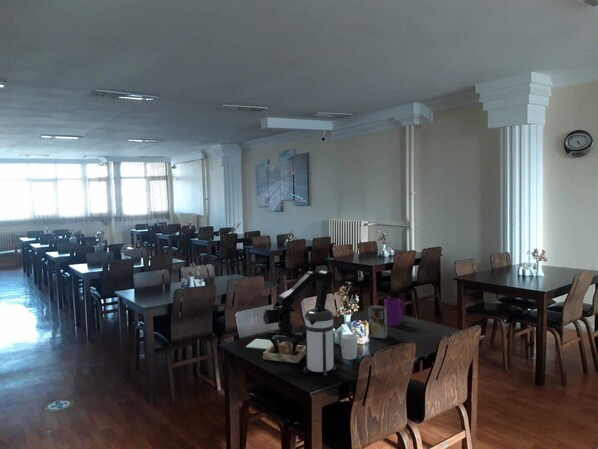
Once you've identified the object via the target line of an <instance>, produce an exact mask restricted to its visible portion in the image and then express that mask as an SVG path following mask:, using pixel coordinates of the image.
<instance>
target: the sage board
mask: <svg viewBox="0 0 598 449" xmlns="http://www.w3.org/2000/svg"><path fill="white" fill-rule="evenodd" d="M279 342H280V341H279V340H278V343H279ZM272 345H273V344H272V342H271V341H270V340H269V339H266V338H265V339H261V338H255V339H254V340H252V341H251V342H249V343H248V344H247V345H246V346H245V348H247V349H256V350H257V349H258V350H265V351H266V350H267V349H268V348H269V347H271V346H272Z"/></svg>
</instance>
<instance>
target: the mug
mask: <svg viewBox="0 0 598 449" xmlns="http://www.w3.org/2000/svg"><path fill="white" fill-rule="evenodd" d="M383 302H384V303H383V304H384V305H383V306H386V307H387V327H399V326H400V325H401V320H402V319H403V318H404V314H405V306H404V303H403V301H402V300H401V299H400V298H396V297H386V298H384V300H383Z"/></svg>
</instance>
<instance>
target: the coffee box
mask: <svg viewBox="0 0 598 449" xmlns="http://www.w3.org/2000/svg"><path fill="white" fill-rule="evenodd" d="M367 310H368V313H367V314H368V319H367V321H368V337H369V338H377V339H378V338H379V339H386V338H387V337H388V326H387V307H386V306H384V305H369V307H368V309H367Z"/></svg>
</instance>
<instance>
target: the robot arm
mask: <svg viewBox="0 0 598 449" xmlns="http://www.w3.org/2000/svg"><path fill="white" fill-rule="evenodd" d="M334 279H335V275H334V273H333V272H332V271H328V270H325V269H324V270H323V269H322V270H320V271H311V270H309V271H307V272H306V273H305V274H304V275H303V276H302V277H301V278H300V279H299V280H298V281H297V282H296V283H295V284H294V285H293V286H292V287H291V288H290V289H289V290H286V291H284V292H283V293H280V295H278V296H277V298H276V301H275V303H274V305H273V306H272V309H270V308H269V309H268V308H266V309H264V314H263V317H262V318H263V322H264V325H270V324H272V325H273V324H277V323H278V328H279V329H278V330H279V332H278V330H277V329H269V330H268V331H267V332H265V339H266V340H270V341H271V342H272V344H273V345H274V347H275V352H276V353H279V350H278V343H279V342H278V341H279V338H289V339H293V341H292V345H293V351H292V355H294V354H295V353H296V352H295V351H296V348H297V345H299V343H300V342H303V341H304V340H306V336H305V332H303V331H302V332H301V331H296V325H295V324H294V325H293V321H292V312H295V311H296V309H294V307H293V305H294V303H295V302H296V299H297V297H299V295H300V294H301V293H302V292H304V290H305V289H307V287H308V286H309V285H310V284H312V282H313V281H317V285H318V291H317V295H316V301H315V306H314V309H315V308H317V307H316V306H317V305H318V304H321V306H322V307H321V308H324V309H326V304H327V303H326V302H327V298H328V294H329V292H328V291H329V289H330V288H331V286H332V285H333V282H334ZM295 331H296V333H295Z"/></svg>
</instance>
